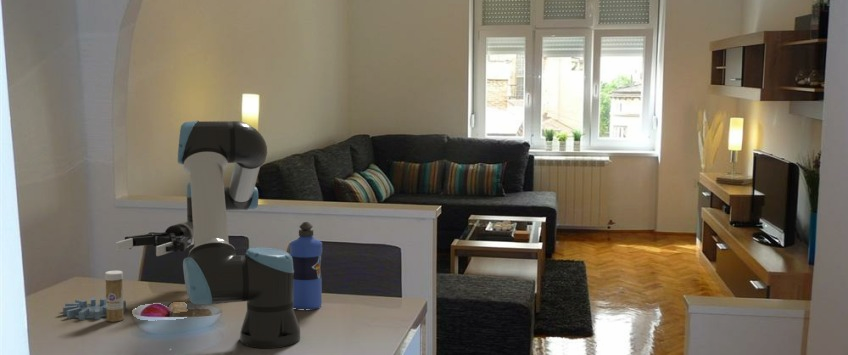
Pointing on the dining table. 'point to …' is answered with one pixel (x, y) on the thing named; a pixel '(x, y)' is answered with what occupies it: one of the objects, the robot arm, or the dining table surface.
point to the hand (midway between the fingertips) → (136, 249)
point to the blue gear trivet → (87, 309)
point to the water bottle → (306, 269)
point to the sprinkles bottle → (114, 296)
